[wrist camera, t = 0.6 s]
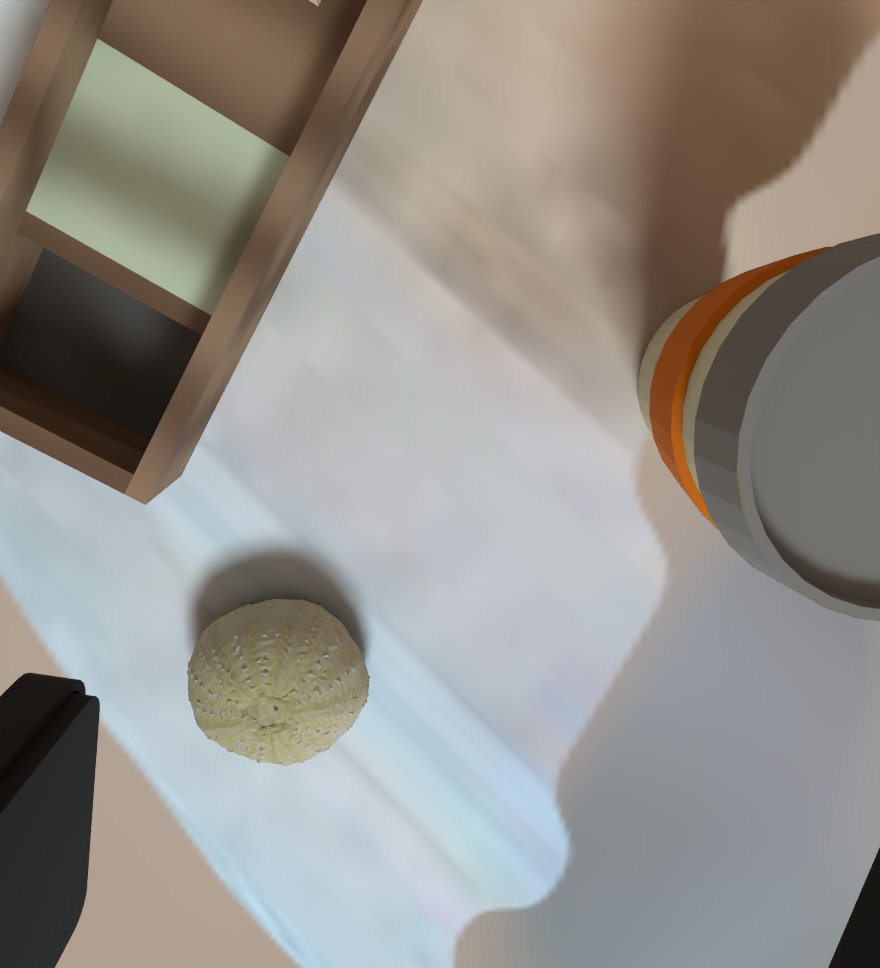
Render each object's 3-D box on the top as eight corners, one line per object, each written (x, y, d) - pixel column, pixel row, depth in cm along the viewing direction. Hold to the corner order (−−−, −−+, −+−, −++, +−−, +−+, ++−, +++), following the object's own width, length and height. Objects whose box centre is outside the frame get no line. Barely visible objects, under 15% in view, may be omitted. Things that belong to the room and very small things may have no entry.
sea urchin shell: (169, 596, 36) (259, 657, 31) (297, 562, 42) (391, 609, 37) (173, 753, 39) (257, 833, 34) (294, 700, 44) (381, 762, 39)
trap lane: (319, -463, 27) (298, -624, 22) (561, -274, 29) (591, -385, 24) (-29, 367, 35) (-100, 380, 30) (180, 475, 37) (145, 504, 32)
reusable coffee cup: (680, 204, 34) (877, 143, 20) (896, 318, 36) (1223, 340, 21) (558, 441, 37) (652, 540, 22) (764, 535, 39) (974, 684, 24)
